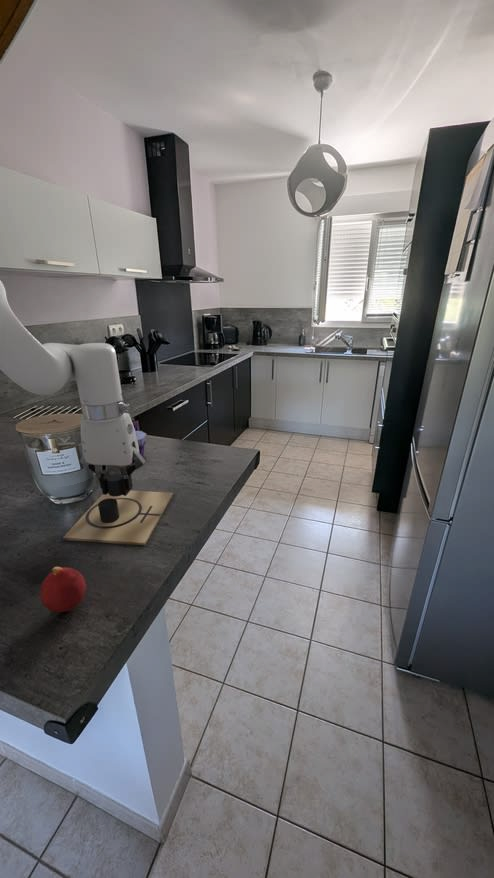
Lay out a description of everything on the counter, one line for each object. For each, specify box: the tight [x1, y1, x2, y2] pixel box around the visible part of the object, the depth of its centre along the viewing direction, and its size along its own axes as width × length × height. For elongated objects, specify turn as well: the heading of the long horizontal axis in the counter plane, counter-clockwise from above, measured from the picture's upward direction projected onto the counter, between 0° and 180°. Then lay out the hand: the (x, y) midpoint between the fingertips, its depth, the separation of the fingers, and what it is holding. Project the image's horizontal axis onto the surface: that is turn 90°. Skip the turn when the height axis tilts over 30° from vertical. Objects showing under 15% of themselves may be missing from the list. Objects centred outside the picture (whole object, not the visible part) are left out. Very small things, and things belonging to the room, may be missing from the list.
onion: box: [39, 566, 87, 614], centre depth 51 cm, size 6×6×8 cm
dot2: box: [106, 472, 122, 496], centre depth 75 cm, size 4×4×4 cm
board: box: [62, 489, 174, 546], centre depth 75 cm, size 16×18×1 cm
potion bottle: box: [130, 416, 148, 464], centre depth 98 cm, size 9×9×12 cm
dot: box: [98, 498, 119, 523], centre depth 72 cm, size 4×4×4 cm
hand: (117, 491), depth 75 cm, fingers closed on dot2, 3 cm apart
